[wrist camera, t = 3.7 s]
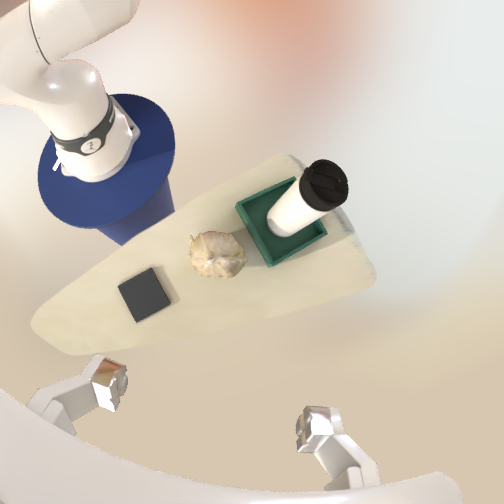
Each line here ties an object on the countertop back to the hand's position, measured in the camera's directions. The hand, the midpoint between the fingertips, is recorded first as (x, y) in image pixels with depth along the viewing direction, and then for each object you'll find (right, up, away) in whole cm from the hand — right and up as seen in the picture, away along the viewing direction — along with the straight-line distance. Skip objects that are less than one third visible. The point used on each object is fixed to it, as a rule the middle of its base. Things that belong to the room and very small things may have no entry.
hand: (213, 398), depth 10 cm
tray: (+7, +12, +40) cm, 43 cm away
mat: (-17, -1, +33) cm, 37 cm away
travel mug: (+7, +12, +40) cm, 42 cm away
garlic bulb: (-5, +5, +37) cm, 38 cm away
